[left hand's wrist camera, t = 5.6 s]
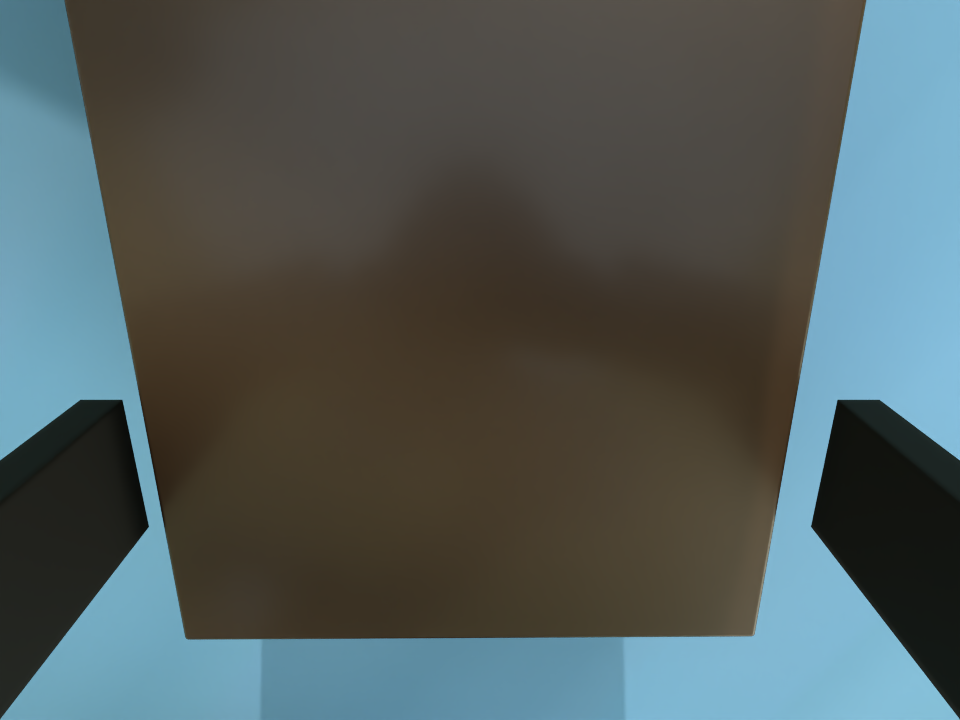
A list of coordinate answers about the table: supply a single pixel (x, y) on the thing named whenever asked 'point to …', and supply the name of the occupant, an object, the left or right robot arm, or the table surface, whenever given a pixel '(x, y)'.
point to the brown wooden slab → (467, 300)
